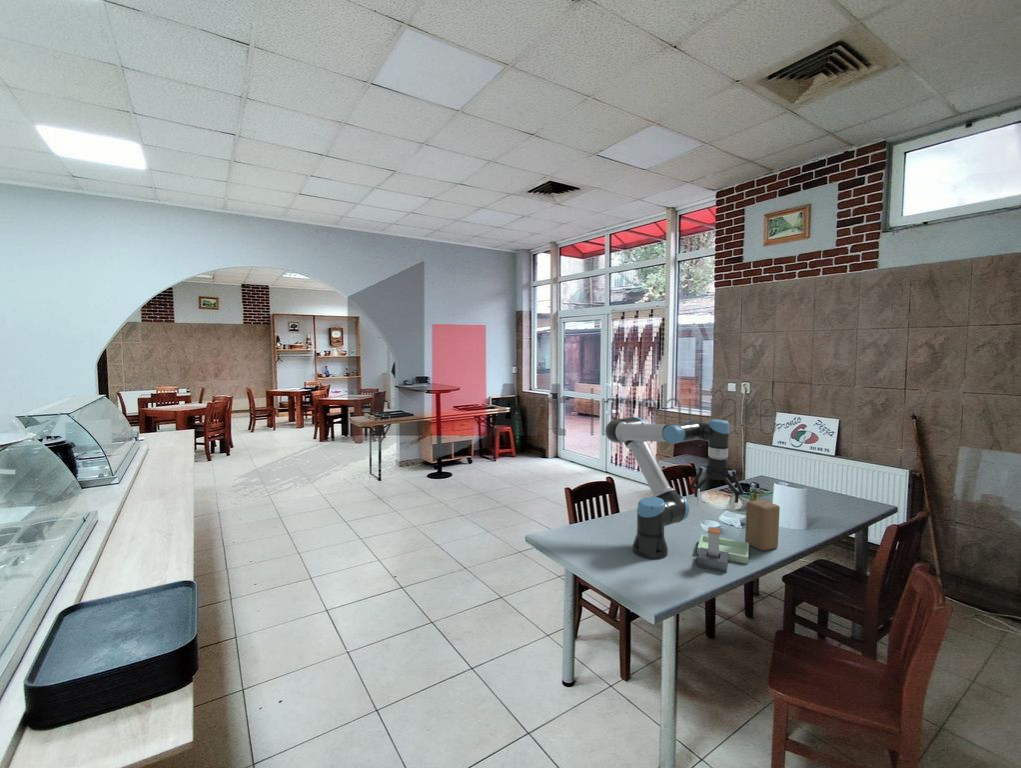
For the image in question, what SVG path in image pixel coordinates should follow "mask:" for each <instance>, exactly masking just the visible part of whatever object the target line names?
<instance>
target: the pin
mask: <svg viewBox="0 0 1021 768" xmlns="http://www.w3.org/2000/svg"><path fill="white" fill-rule="evenodd" d="M721 530H722V529H721V528H720V527H719V528H718V527H714V526H713V527H712V526H709V527H708V529H707V533H708V536H709V538H708V557H713V558H718V559H719V540H720V538H721V532H722V531H721Z"/></svg>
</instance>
